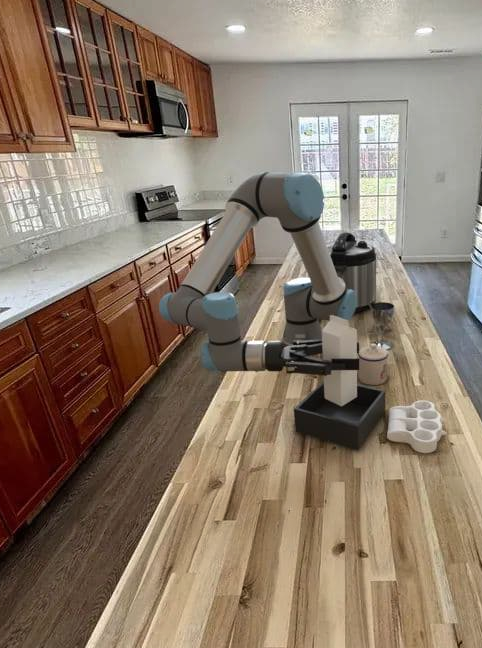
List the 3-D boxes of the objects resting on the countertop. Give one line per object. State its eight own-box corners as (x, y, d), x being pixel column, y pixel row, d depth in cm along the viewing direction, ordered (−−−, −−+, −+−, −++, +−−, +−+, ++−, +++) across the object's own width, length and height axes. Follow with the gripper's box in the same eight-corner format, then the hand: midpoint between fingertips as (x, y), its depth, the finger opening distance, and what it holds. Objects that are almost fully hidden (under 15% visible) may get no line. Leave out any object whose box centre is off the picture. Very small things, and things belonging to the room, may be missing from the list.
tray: (328, 398, 125) (327, 377, 122) (385, 412, 118) (385, 390, 115) (295, 431, 111) (293, 408, 108) (358, 450, 104) (357, 426, 101)
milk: (341, 407, 107) (339, 324, 98) (324, 398, 111) (320, 318, 102) (357, 396, 111) (357, 317, 102) (340, 388, 115) (338, 311, 106)
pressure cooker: (347, 290, 214) (346, 224, 200) (391, 304, 195) (393, 232, 181) (299, 306, 195) (294, 234, 181) (342, 322, 176) (340, 244, 163)
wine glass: (396, 343, 157) (398, 304, 151) (386, 352, 151) (387, 311, 145) (377, 339, 161) (377, 300, 155) (366, 347, 155) (366, 307, 149)
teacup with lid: (386, 386, 130) (387, 351, 125) (356, 385, 131) (356, 350, 126) (388, 367, 141) (389, 335, 136) (360, 366, 142) (360, 333, 137)
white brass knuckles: (390, 408, 120) (444, 412, 118) (386, 450, 104) (448, 455, 102) (390, 398, 118) (445, 401, 116) (386, 438, 102) (450, 443, 100)
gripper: (275, 351, 118) (358, 350, 117) (259, 391, 99) (359, 391, 98) (272, 325, 115) (358, 324, 114) (256, 362, 96) (359, 362, 95)
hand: (359, 355), depth 106 cm, fingers closed on milk, 8 cm apart
